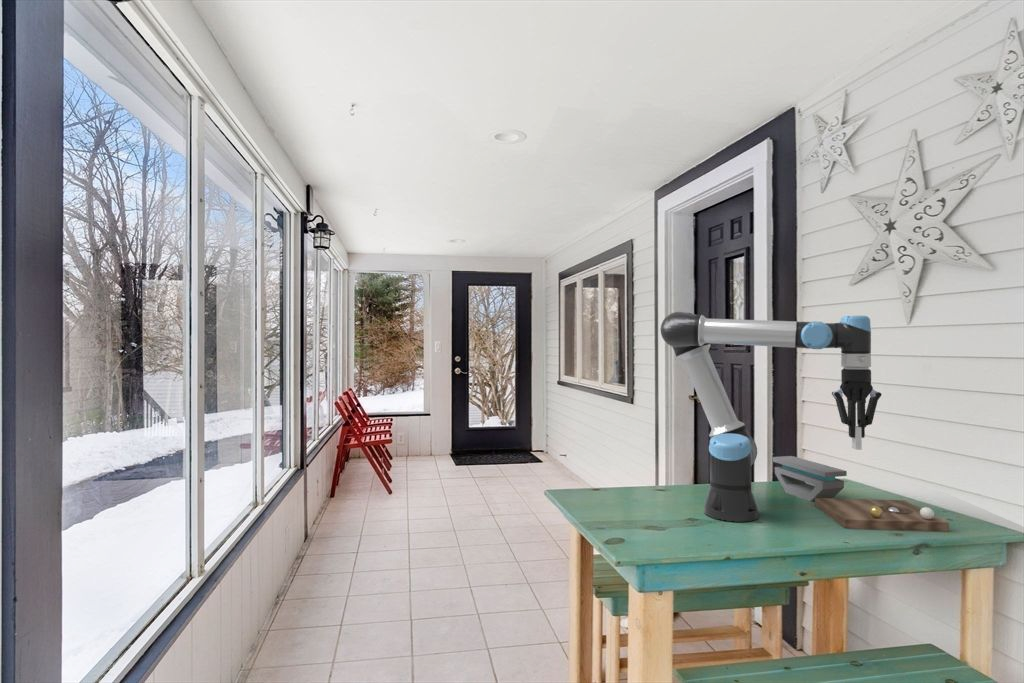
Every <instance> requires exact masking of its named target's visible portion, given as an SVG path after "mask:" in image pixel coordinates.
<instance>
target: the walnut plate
mask: <svg viewBox="0 0 1024 683" xmlns="http://www.w3.org/2000/svg"><path fill="white" fill-rule="evenodd" d="M872 506H878V507H880V508H881V509H882V512H883V514H882V516H881V517H879V518H874V517H872V516H871V515H870V513H869V509H870V508H871V507H872ZM814 507H816V508H817V507H818V508H819V509H818V508H817V509H818V510H820V511H821V510H822V511H823V512H822V511H821V512H822V513H824V514H825V515H826V514H827V515H826V516H828V517H829V518H830V517H831V518H830V519H832V520H833V521H835V522H836V523H837V524H839V525H840V526H841V527H843V528H844V529H853V530H883V531H884V530H887V531H910V532H911V531H912V532H913V531H915V532H916V531H918V532H943V533H945V532H946V533H948V532H949V530H950V529H949V528H950V526H949V524H950V522H948V521H947V520H944V519H943V518H940V517H939V516H937V515H935V514H934V517H933V518H932V519H924V518H923V517H922V516H921V515H920V510H921V509H922V508H921V507H919V506H917V505H915V504H913V503H912V502H909V501H907V500H905V499H872V498H871V499H870V498H835V497H833V498H815V501H814ZM891 507H894V508H897V509H898V510H899V511H900V512H893V511H889V510H888V509H889V508H891Z"/></svg>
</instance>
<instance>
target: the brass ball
mask: <svg viewBox="0 0 1024 683" xmlns="http://www.w3.org/2000/svg"><path fill="white" fill-rule="evenodd" d="M869 513H870V515H871V516H872V517H874V518H879V517H881V516H882V514H883V512H882V509H881V508H880V507H878V506H872V507H871V508H870V509H869Z"/></svg>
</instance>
